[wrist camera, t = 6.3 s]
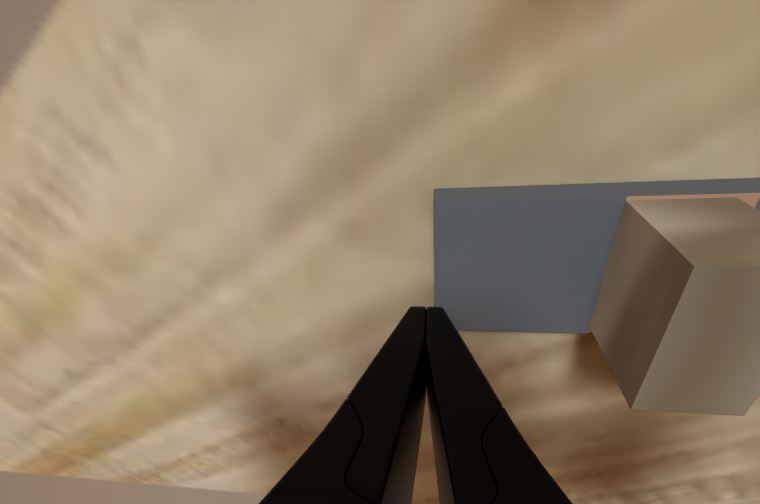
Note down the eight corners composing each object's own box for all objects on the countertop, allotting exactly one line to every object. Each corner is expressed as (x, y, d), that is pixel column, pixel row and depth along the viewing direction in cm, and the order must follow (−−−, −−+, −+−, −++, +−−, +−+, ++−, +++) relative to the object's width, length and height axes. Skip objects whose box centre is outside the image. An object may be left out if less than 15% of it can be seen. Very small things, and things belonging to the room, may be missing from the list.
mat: (973, 171, 9) (1018, 183, 8) (851, 322, 11) (878, 341, 11) (433, 189, 11) (433, 200, 10) (435, 314, 13) (435, 329, 13)
